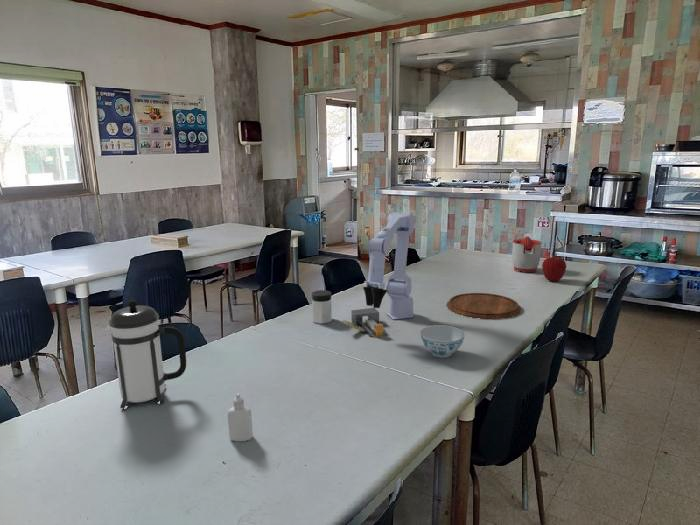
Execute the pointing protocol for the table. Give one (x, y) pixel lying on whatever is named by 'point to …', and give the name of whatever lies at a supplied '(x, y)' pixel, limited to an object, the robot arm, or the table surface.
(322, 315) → the jar
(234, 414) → the eye dropper bottle
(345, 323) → the keeper tab
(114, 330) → the coffee press
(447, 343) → the chinaware
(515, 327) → the table surface
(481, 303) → the cutting board
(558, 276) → the apple
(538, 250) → the citrus juicer
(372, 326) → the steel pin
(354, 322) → the hitch block
